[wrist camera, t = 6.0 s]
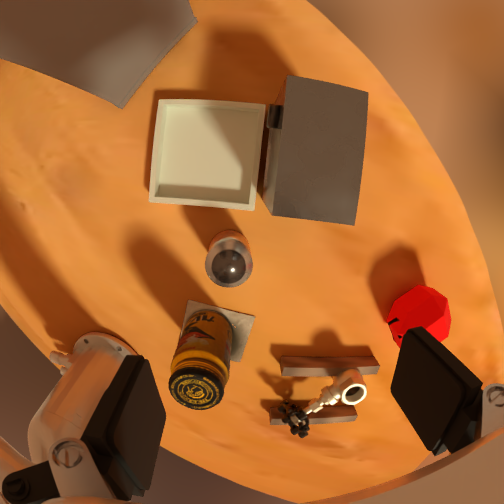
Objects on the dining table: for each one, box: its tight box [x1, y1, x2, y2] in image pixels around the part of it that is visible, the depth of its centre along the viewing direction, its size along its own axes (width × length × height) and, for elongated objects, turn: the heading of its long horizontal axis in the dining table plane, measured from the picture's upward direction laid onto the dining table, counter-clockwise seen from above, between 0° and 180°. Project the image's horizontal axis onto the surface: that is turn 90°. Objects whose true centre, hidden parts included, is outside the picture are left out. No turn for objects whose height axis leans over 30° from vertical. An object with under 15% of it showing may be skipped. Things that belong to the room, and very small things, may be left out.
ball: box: [386, 285, 451, 348], centre depth 31 cm, size 8×8×8 cm
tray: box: [149, 99, 266, 211], centre depth 28 cm, size 11×11×2 cm
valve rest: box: [269, 356, 380, 425], centre depth 37 cm, size 14×12×2 cm
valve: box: [277, 369, 366, 438], centre depth 35 cm, size 7×7×12 cm
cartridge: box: [205, 230, 253, 287], centre depth 29 cm, size 4×4×6 cm
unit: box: [262, 75, 368, 225], centre depth 24 cm, size 7×10×12 cm
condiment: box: [169, 300, 255, 410], centre depth 29 cm, size 7×8×12 cm
